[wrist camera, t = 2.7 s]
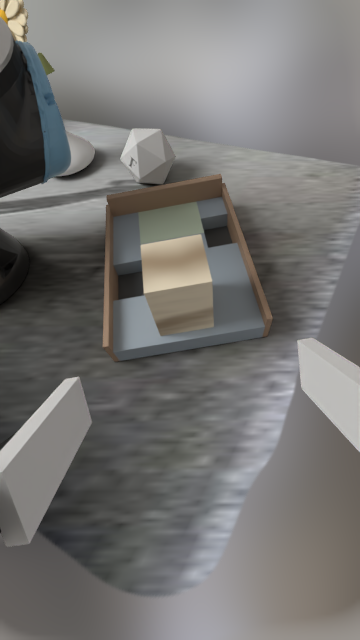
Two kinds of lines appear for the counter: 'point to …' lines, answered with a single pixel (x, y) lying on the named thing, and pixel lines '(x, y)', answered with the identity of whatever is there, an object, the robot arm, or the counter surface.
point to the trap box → (170, 223)
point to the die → (148, 156)
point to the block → (178, 284)
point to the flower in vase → (9, 7)
